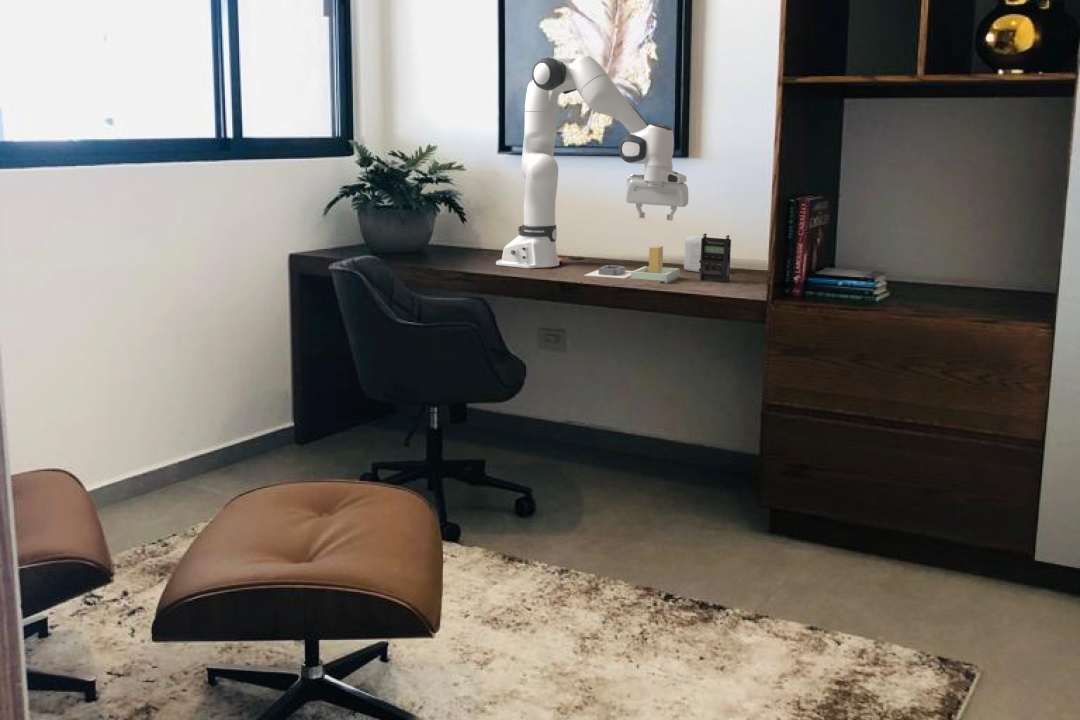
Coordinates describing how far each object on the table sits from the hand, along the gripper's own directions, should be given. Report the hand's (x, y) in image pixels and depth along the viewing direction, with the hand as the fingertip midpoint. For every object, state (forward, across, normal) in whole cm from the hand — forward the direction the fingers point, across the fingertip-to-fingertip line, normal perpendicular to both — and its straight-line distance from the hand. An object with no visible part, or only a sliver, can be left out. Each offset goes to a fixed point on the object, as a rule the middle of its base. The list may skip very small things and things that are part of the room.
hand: (655, 219), depth 356 cm
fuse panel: (+20, -14, 0) cm, 24 cm away
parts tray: (+20, +1, +1) cm, 20 cm away
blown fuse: (+19, +1, +1) cm, 19 cm away
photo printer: (+19, +9, +24) cm, 32 cm away
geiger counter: (+19, +19, +6) cm, 27 cm away
